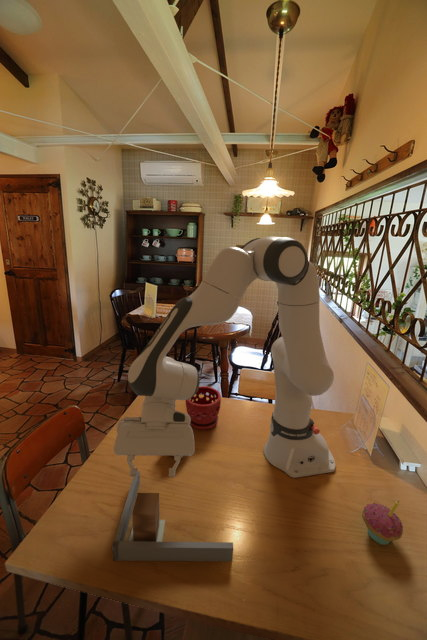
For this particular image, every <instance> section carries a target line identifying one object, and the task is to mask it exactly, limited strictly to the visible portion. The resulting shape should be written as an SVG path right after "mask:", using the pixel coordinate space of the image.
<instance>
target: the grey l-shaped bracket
mask: <svg viewBox="0 0 427 640" xmlns="http://www.w3.org/2000/svg"><path fill="white" fill-rule="evenodd" d="M140 476H141V474H140V471H138V470H137V476H132V477H133V478H132V481H131V484H130V487H129V490H128V494H127V498H126V499H125V504H124V507H123V510H122V514H121V516H120V521H119V524H118V526H117V529H116V533H115V536H114V539H113V544H112V546H111V551H112V561H132V562H133V561H134V562H135V561H136V562H139V561H143V562H144V561H145V562H146V561H147V562H150V561H151V562H153V561H154V562H156V561H157V562H159V561H161V562H167V561H168V562H233V555H234V542H230V541H229V542H226V541H224V542H222V541H221V542H219V541H217V542H215V541H213V542H211V541H208V542H207V541H163V539H164V532H165V523H166V519H159V524H160V525H159V531H158V537H157V542H144V541H134V540H133V526H132V527H131V531H130V532H131V533H130V536H129V539H128V540H127V541H125V539H126V534H127V531H128V528H129V525H130V520H131V517H132V512H133V508H134V504H135V501H136V497H137V493H138V492H139V487H140V484H141V477H140Z"/></svg>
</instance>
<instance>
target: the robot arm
mask: <svg viewBox="0 0 427 640" xmlns="http://www.w3.org/2000/svg"><path fill="white" fill-rule="evenodd" d="M257 279H259V280H261V281H265V282H273V283H275V284H276V287H277V310H278V311H277V312H278V328H279V331H280V334H281V336H280V337H278V338H277V339H276V340H275V341H274V342H273V344H272V346H271V347H270V348H271V349H270V353H271V357H272V361H273V369H274V371H273V373H274V374H273V375H274V384H275V398H274V406H273V412H272V414H271V419H270V424H269V429H270V430H269V436H268V438H267V442H266V443H265V445H264V447H263V453H264V456H265V458H266V460H267V461H268V462H269V463H270V464H271V465H272V466H274V467H276V468H277V469H279V470H281V471H282V472H284V473H285V474H286V475H288V476H289V477H290V478H295V479H296V478H301V477H302V478H303V477H309V476H314V475H322V474H326V473H327V474H328V473H334V472H335V471H336V461H335V458H334V456H333V454H332V452H331V451H330V449H329V446H328V443H327V441H326V440H325V438H324V436H323V435H322V434H321V430H320V429H319V427H318V425H315V422H314V420H313V419H312V418H311V411H312V407H313V406H312V405H313V397H316V396H321V395H323V394H324V393H326V392H328V391H329V389H330V388H331V387H332V385H333V383H334V379H335V375H334V371H333V369H332V368H331V367H332V366H331V365H330V363H329V360H328V358H327V354H326V350H325V346H324V343H323V338H322V334H321V327H320V325H321V324H320V300H321V299H320V283H319V276H318V272H317V267H316V266H315V264H314V263H313V262H311V261H309V258H308V253H307V249H305V246H304V245H303V244H302V243H301V242H300V241H299V240H296V239H295V238H292V237H289V236H283V237H281V236H271V235H270V236H267V237H257V238H252V239H251V240H249V241H247V242H246V243H245V244H244V245H243V246H241V247H239V246H238V247H236V246H226V247H223V248H222V249H221V250H220V251H219V252H218V254H217V255H216V256H215V257H214V259H213V260H212V262H211V264H210V265H209V267H208V268H207V271H205V273H204V275H203V277H202V280H201V282H200V284H199V285H198V287H197V288H196V289H195V291H193V292H192V293H191V294H190V295H188V296H186V297H182V298H180V299H179V300H178V301H177V302H176V303H175V305H173V307H172V308H171V309H170V310H169V312H168V314H167V315H165V316H166V317H165V318H164V319H163V320H162V322H161V324H160V326H159V327H158V328H157V329H156V331H155V333H153V336H152V337H151V338H150V340H149V341H148V343H147V344H146V346H144V348H143V349H142V351H141V352H140V353H139V354H138V355H137V356H136V357H135V358H134V360H133V361H132V362H131V364H130V366H129V368H128V372H127V376H126V379H127V380H126V381H127V384H128V386H129V388H130V389H131V390H132V392H134V394H135V395H137V396H142V397H144V400H143V402H142V408H141V416H132V417H130V416H125V417H123V418H122V419H120V420H118V423H117V426H116V433H117V435H116V438H115V441H114V446H113V452H114V454H115V455H117V456H126V462H127V464H128V467H129V469H130V470H129V477H134V476H137V471H138V470H139V469H138V467H135V465H134V462H133V461H134V460H135V456H153V457H154V456H170V457H171V456H172V457H174V458H173V459H174V461H175V463H174V464H173V466H172V468H171V467H169V468H168V477H175V476H176V469H177V467H178V465H179V464H180V462H181V459H182V458H181V456H183V457H187V456H189V457H191V456H193V455H194V454H195V437H194V431H193V428H192V425H191V424H190V423H191V418H190V416H189V415H188V413H185V412H182V411H178V410H176V401H186V400H189V399H190V400H191V398H192V397H193V396H194V397H195V396H196V393H197V391H198V389H199V387H200V384H201V383H200V381H201V379H200V373H199V370H198V369H197V367H196V366H194V365H192V364H189V363H186V362H181V361H177V360H175V359H174V358H172V357H170V356H167V354H168V353H169V352H170V350H171V348H172V347H173V346H174V344H175V343H176V341H177V340H178V338H179V337H180V335H182V333H183V332H184V331H186V330H188V329H191V328H193V327H201V326H214V325H215V326H216V325H221V324H223V323H225V322H227V321H229V320H230V319H232V317H234V315H235V313H236V312H237V310H238V308H239V306H240V304H241V302H242V300H243V298H244V296H245V294H246V291H247V289H248V288H249V286H250V285H251V284H252V283H253V282H254V281H255V280H257Z"/></svg>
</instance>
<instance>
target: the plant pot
mask: <svg viewBox="0 0 427 640" xmlns="http://www.w3.org/2000/svg"><path fill="white" fill-rule="evenodd" d="M207 393H208V394H207ZM200 394H203V397H200ZM207 398H208V399H207ZM221 398H222V397H221V392H219V390H217V389H215V388H214V387H210V386H201V385H200V386H199V389H198V391H197V393H196V394H195V395H194V396H193V397H192V398H191V399H189V400H185V407H186V414H188V415H189V416H190V418H191V423H190V426H191V427H193V428H195V429H198V430H208V429H211V428H213V427H215V426H216V425H217V424H218V421H219V413H220V410H221V403H222V402H221V401H222V399H221Z"/></svg>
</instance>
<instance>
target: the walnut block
mask: <svg viewBox="0 0 427 640" xmlns="http://www.w3.org/2000/svg"><path fill="white" fill-rule="evenodd" d="M131 517H132V519H131V520H132V527H133V540H134V541H144V542H157V537H158V531H159V525H160V524H159V520H160V492H137V495H136V499H135V502H134V506H133V510H132V513H131Z"/></svg>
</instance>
